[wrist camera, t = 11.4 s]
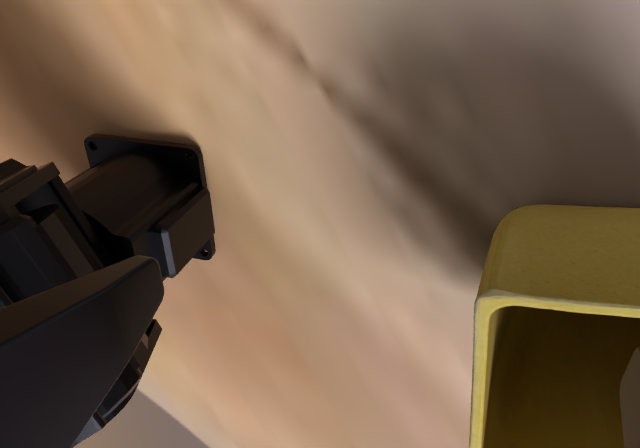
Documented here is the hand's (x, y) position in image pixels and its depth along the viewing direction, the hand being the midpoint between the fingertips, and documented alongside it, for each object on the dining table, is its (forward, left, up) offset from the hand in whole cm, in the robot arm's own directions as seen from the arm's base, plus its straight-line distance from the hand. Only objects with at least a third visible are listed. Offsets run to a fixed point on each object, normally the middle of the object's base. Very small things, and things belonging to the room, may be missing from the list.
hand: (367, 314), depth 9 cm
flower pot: (+7, -6, -13) cm, 16 cm away
